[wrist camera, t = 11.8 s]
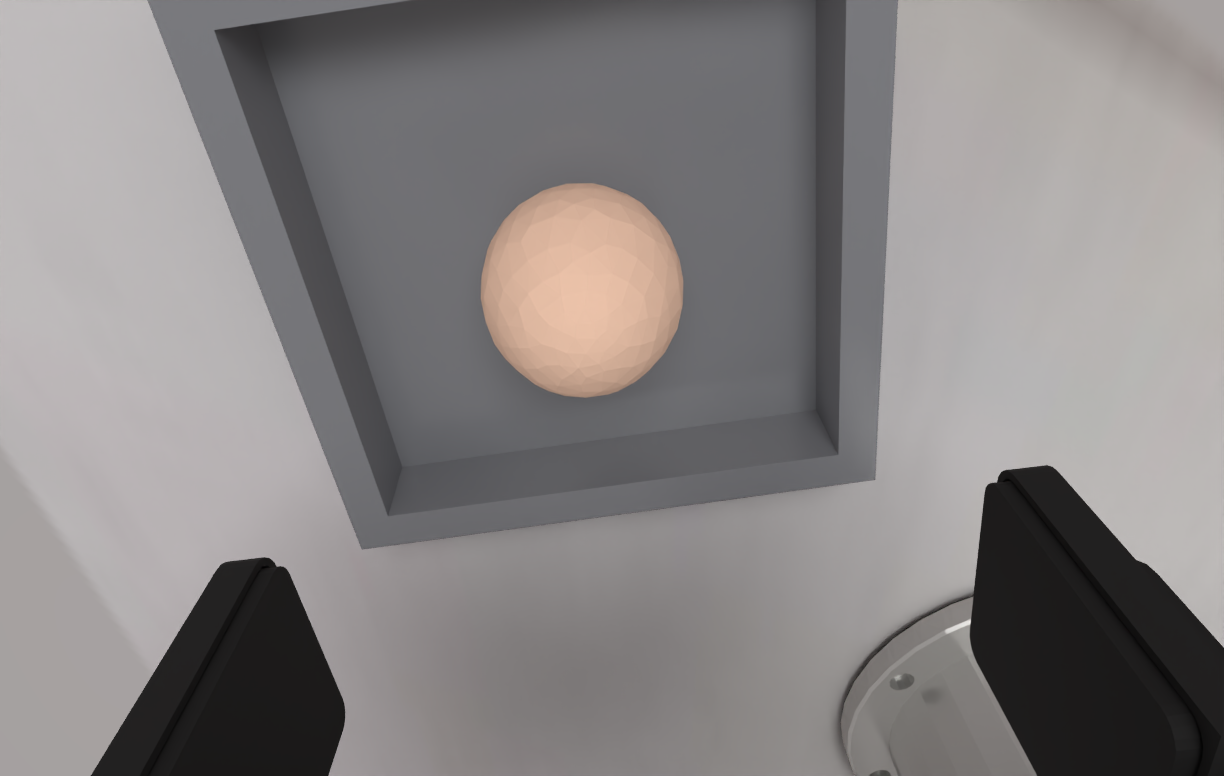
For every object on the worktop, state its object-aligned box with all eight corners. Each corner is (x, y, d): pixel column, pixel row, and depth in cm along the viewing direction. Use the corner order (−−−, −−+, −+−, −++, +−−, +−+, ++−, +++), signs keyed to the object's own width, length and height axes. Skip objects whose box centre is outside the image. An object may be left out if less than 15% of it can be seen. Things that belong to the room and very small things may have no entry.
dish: (844, 422, 24) (875, 479, 22) (381, 486, 24) (361, 549, 22) (855, -133, 17) (904, -139, 14) (199, -31, 17) (139, -21, 15)
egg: (560, 354, 22) (559, 484, 17) (453, 224, 20) (416, 328, 15) (701, 265, 21) (744, 377, 16) (603, 117, 19) (617, 192, 14)
